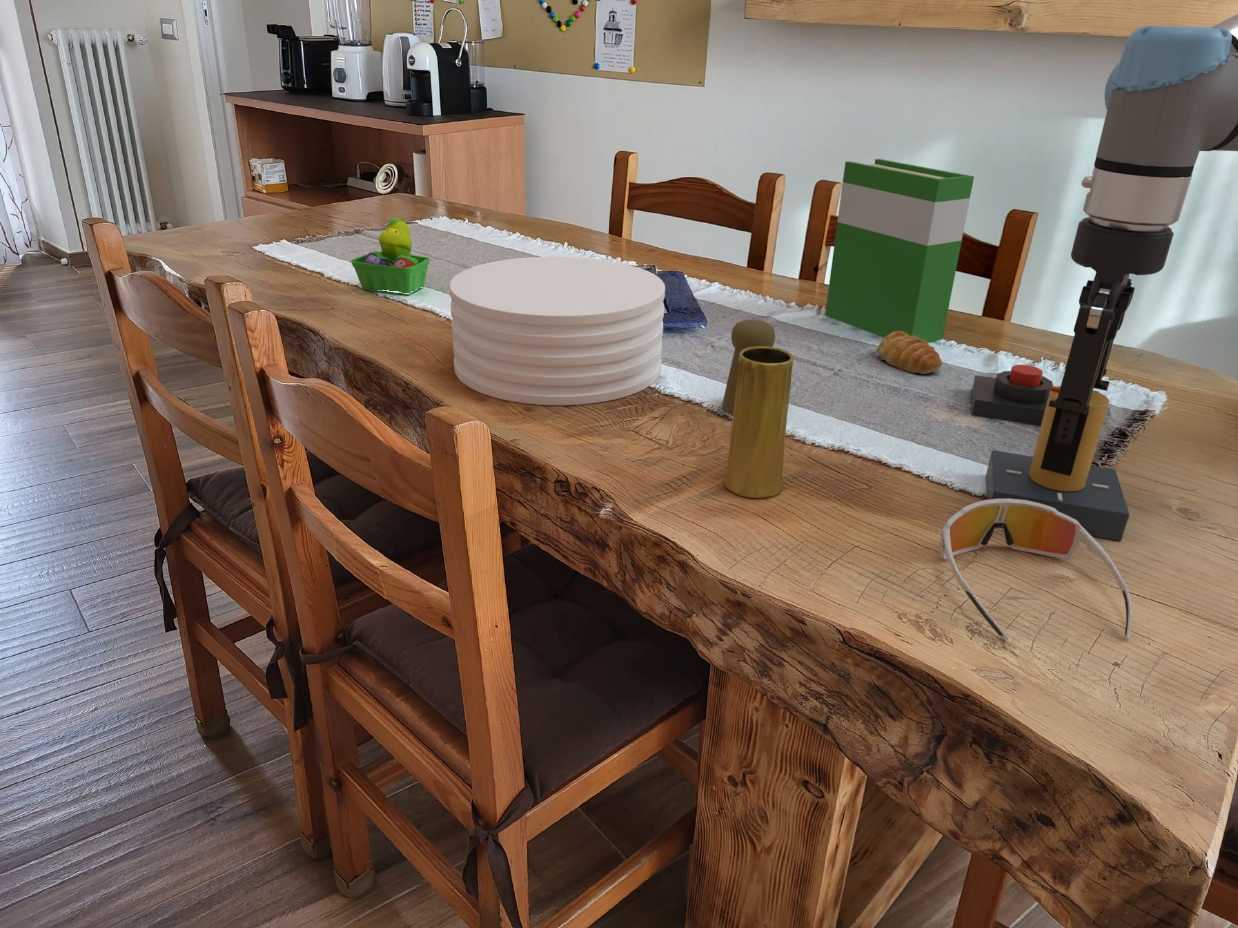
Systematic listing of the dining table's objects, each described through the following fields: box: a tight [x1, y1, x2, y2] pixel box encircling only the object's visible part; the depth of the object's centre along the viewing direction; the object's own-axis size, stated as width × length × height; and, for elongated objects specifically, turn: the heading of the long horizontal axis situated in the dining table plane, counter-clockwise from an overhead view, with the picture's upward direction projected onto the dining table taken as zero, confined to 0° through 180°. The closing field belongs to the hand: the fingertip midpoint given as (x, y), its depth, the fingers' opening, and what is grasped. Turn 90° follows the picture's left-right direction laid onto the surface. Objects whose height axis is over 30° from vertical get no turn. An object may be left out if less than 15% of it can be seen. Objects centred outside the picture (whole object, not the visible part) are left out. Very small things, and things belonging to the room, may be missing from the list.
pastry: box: [876, 331, 943, 375], centre depth 128 cm, size 9×7×4 cm
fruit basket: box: [350, 217, 431, 296], centre depth 153 cm, size 11×9×11 cm
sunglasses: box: [939, 499, 1133, 641], centre depth 78 cm, size 14×15×5 cm
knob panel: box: [985, 449, 1130, 542], centre depth 92 cm, size 12×10×3 cm
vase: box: [723, 346, 795, 499], centre depth 91 cm, size 6×6×14 cm
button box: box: [971, 370, 1057, 427], centre depth 114 cm, size 11×9×4 cm
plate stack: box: [449, 256, 666, 406], centre depth 122 cm, size 28×28×12 cm
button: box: [1009, 364, 1044, 386], centre depth 113 cm, size 4×4×2 cm
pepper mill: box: [721, 319, 776, 416], centre depth 111 cm, size 6×6×11 cm
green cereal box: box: [824, 158, 975, 344], centre depth 139 cm, size 18×7×24 cm, turn 33°
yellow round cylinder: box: [1029, 385, 1110, 492], centre depth 89 cm, size 5×5×9 cm
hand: (1061, 459), depth 90 cm, fingers closed on yellow round cylinder, 5 cm apart
